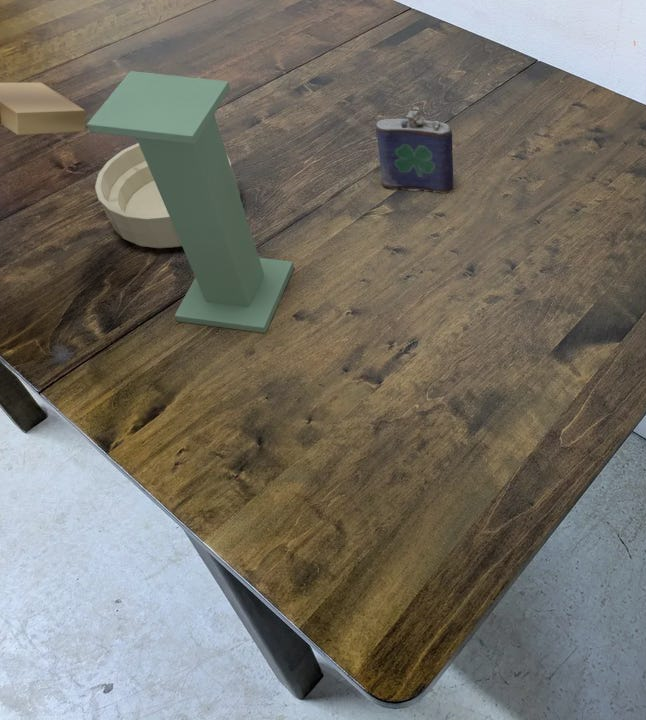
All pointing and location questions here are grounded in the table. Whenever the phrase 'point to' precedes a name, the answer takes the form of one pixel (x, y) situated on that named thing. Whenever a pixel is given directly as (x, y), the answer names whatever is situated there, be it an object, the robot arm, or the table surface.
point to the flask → (415, 153)
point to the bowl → (136, 200)
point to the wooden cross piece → (38, 110)
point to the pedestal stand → (198, 196)
